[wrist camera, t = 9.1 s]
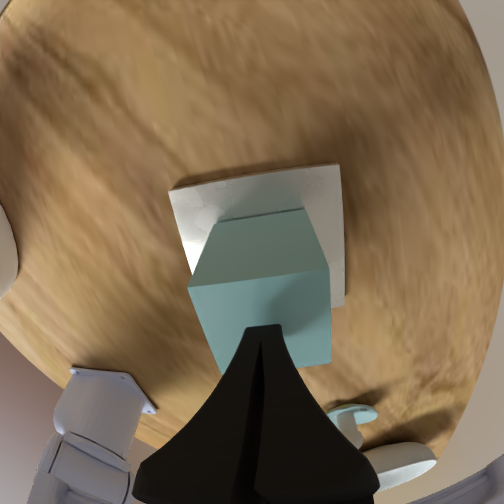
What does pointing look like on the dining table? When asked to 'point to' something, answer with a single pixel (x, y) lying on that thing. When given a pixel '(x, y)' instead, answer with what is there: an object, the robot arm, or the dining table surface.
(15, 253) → the white jar
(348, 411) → the pacifier
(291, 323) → the teal block
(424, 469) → the serving bowl
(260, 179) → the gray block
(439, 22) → the dining table surface
